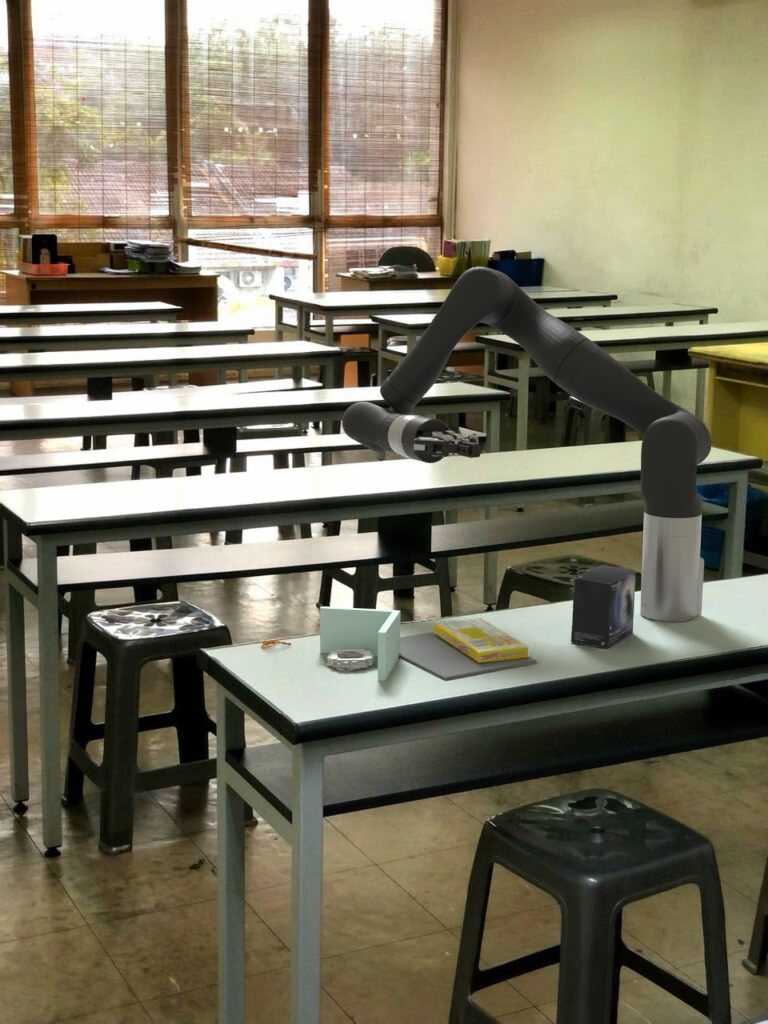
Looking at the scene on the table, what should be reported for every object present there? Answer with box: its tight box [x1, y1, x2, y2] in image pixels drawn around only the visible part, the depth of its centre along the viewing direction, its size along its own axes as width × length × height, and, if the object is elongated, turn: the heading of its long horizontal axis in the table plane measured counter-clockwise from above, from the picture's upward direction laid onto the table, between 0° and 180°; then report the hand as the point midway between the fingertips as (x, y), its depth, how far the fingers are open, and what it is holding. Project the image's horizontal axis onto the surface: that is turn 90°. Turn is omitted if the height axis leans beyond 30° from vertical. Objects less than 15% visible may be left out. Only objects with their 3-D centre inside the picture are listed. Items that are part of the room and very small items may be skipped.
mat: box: [399, 631, 538, 681], centre depth 199 cm, size 16×20×1 cm
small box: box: [570, 564, 637, 649], centre depth 206 cm, size 11×6×10 cm, turn 147°
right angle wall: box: [319, 606, 401, 682], centre depth 192 cm, size 12×12×8 cm
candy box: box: [433, 617, 529, 663], centre depth 201 cm, size 16×2×8 cm
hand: (476, 451), depth 210 cm, fingers closed
